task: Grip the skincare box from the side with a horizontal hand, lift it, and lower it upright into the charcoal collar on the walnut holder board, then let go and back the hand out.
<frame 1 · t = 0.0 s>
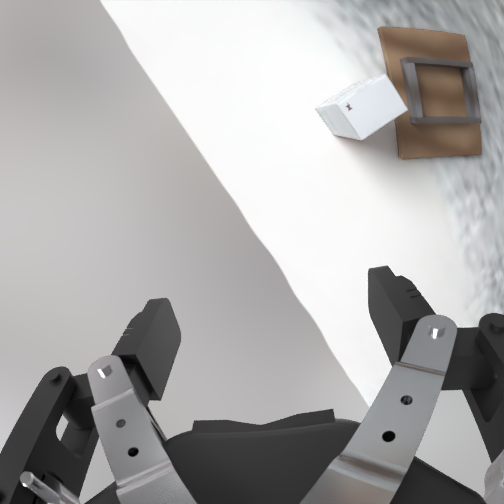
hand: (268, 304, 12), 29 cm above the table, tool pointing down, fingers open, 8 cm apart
skincare box: (342, 109, 35), on the table
holder: (434, 91, 33), on the table
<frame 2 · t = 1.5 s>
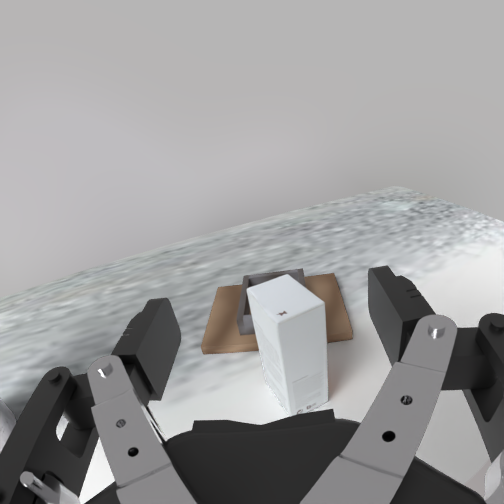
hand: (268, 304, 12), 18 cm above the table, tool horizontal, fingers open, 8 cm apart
skincare box: (296, 393, 29), on the table
holder: (276, 314, 42), on the table
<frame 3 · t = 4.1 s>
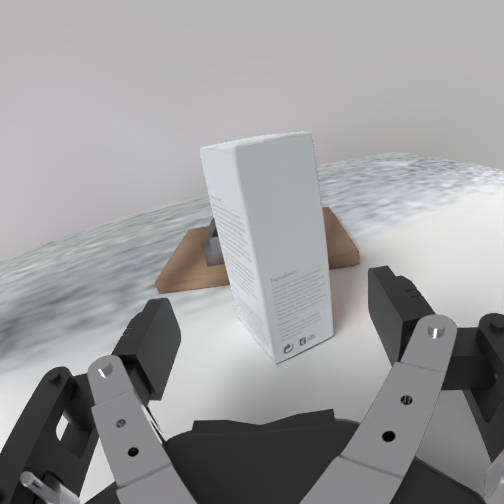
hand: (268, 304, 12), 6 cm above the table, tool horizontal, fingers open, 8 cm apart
skincare box: (283, 329, 20), on the table
holder: (257, 248, 33), on the table
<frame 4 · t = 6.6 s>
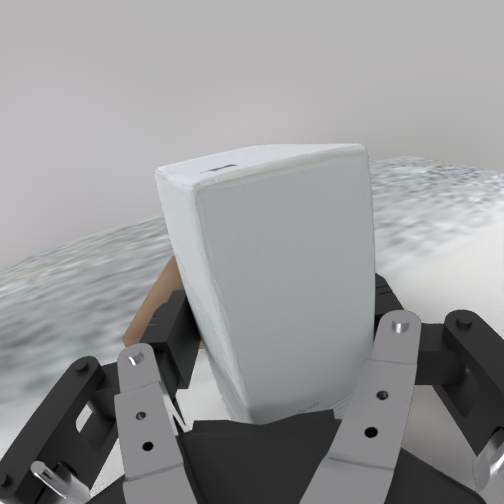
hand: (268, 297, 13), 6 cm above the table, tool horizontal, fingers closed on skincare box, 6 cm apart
skincare box: (289, 433, 13), on the table, touching gripper
holder: (256, 288, 26), on the table
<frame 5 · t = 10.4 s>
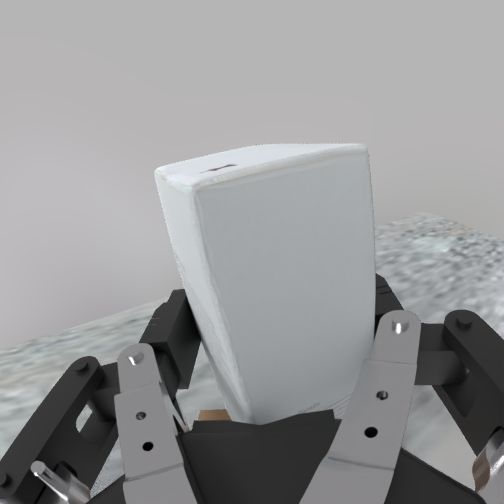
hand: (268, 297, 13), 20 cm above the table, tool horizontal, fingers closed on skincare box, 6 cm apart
skincare box: (289, 433, 13), point 13 cm above the table, touching gripper
holder: (292, 468, 22), on the table
when the fingers open (9 cm above the table, at t = 14.7 s): skincare box drops 1 cm, resting on holder.
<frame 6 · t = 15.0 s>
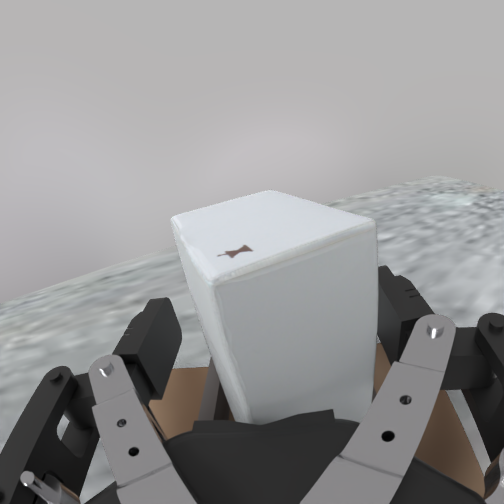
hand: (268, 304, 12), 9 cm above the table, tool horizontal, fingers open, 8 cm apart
skincare box: (296, 451, 13), point 1 cm above the table, touching holder
holder: (294, 458, 14), on the table
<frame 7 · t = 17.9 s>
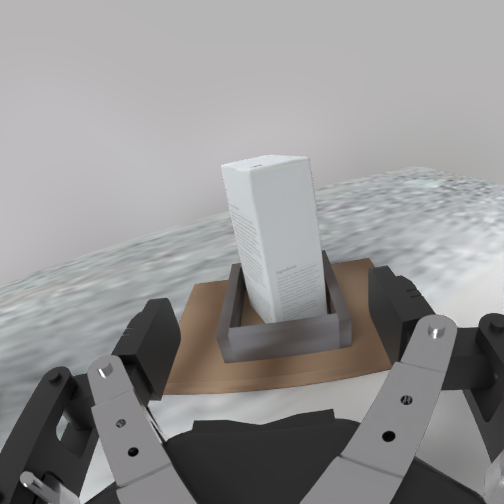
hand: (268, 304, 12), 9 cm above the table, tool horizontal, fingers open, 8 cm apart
skincare box: (287, 314, 25), point 1 cm above the table, touching holder
holder: (286, 323, 25), on the table
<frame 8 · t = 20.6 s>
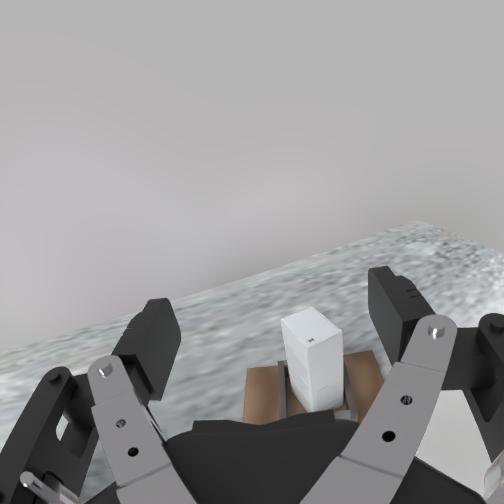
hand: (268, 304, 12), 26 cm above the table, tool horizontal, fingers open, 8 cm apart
skincare box: (316, 399, 35), point 1 cm above the table, touching holder
holder: (315, 403, 36), on the table
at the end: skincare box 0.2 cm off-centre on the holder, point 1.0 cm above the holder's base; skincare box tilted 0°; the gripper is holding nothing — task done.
